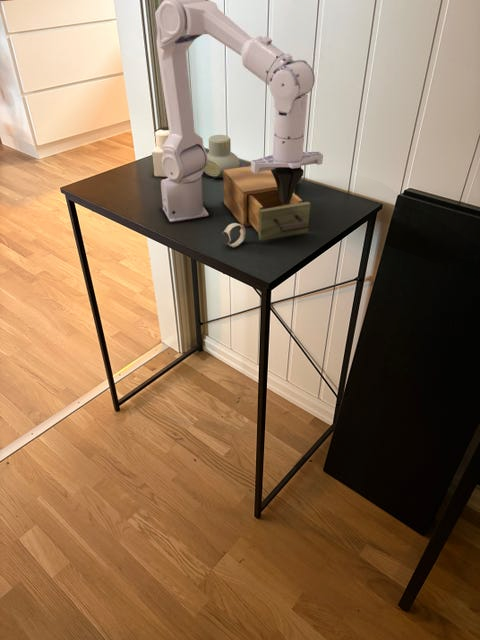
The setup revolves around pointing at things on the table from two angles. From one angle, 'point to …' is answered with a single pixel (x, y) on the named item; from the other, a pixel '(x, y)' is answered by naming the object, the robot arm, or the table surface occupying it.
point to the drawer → (277, 215)
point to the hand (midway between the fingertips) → (284, 201)
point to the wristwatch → (227, 235)
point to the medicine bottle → (159, 151)
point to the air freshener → (220, 156)
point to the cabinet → (245, 189)
